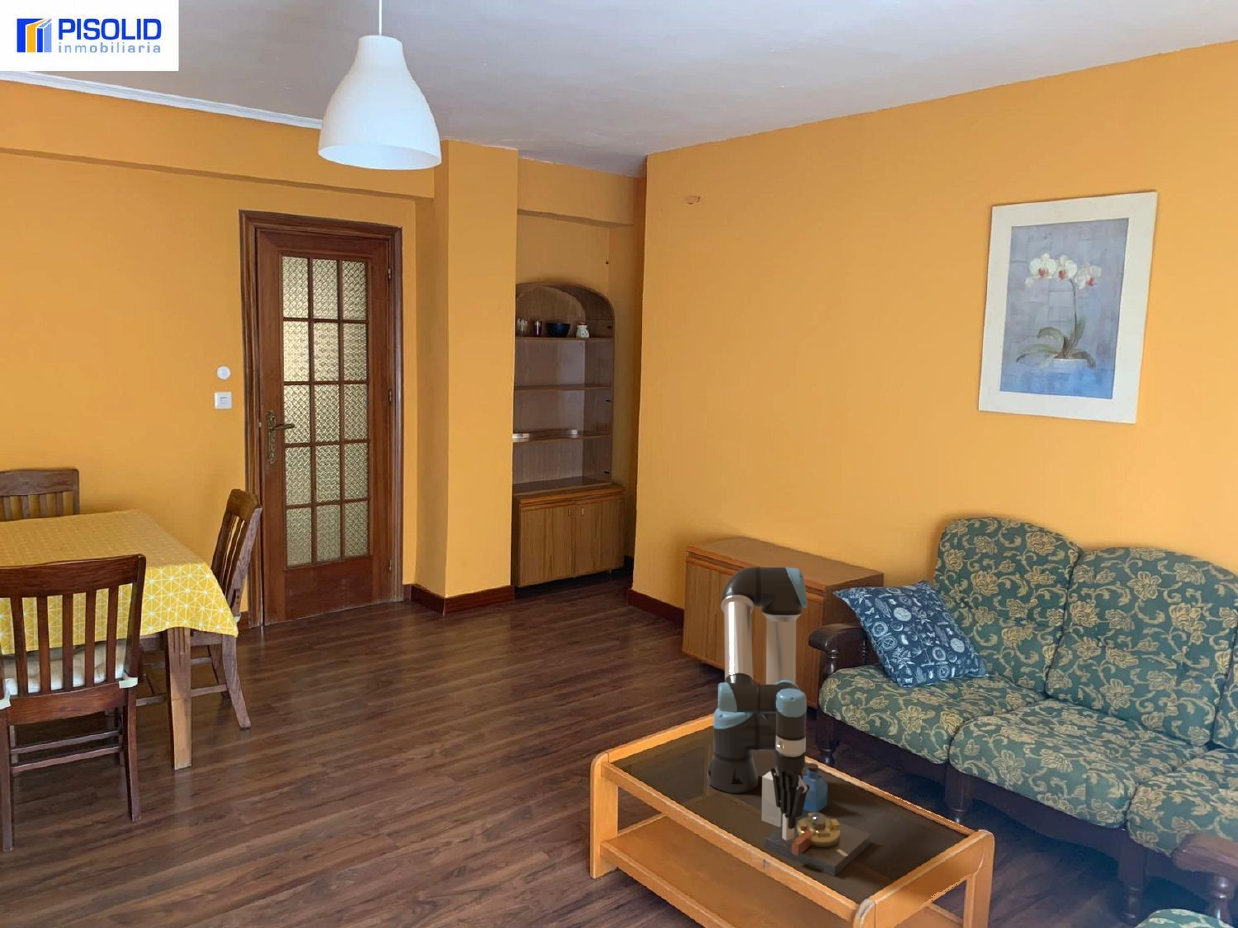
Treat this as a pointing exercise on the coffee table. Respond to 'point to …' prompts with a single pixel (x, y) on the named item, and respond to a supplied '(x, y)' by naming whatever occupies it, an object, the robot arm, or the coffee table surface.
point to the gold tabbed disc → (815, 835)
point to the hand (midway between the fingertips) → (788, 837)
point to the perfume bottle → (815, 789)
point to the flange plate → (822, 857)
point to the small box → (770, 802)
